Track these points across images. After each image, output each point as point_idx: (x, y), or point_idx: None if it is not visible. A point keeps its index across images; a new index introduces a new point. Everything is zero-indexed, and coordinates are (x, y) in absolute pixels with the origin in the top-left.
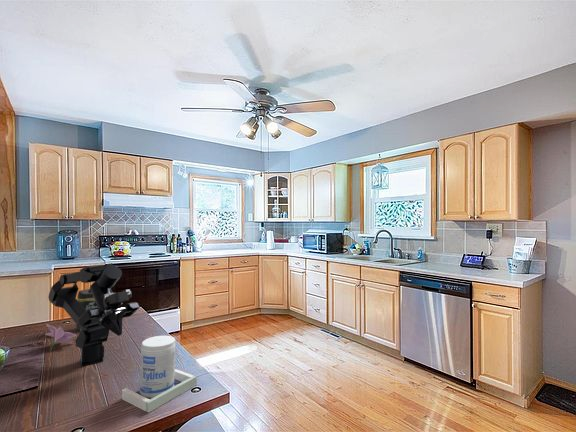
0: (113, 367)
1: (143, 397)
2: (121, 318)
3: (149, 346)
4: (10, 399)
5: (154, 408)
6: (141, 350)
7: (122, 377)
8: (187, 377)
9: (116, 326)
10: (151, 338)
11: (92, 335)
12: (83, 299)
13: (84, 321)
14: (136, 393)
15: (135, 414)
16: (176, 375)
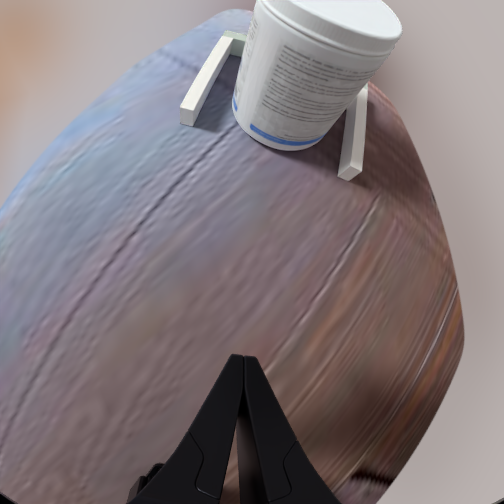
0: (180, 390)
1: (359, 100)
2: (162, 492)
3: (395, 15)
4: (405, 455)
5: None
6: (389, 54)
7: (241, 284)
8: (228, 48)
9: (278, 425)
10: (337, 14)
11: None
12: None
13: (495, 502)
14: (356, 123)
15: (372, 116)
16: (210, 83)
